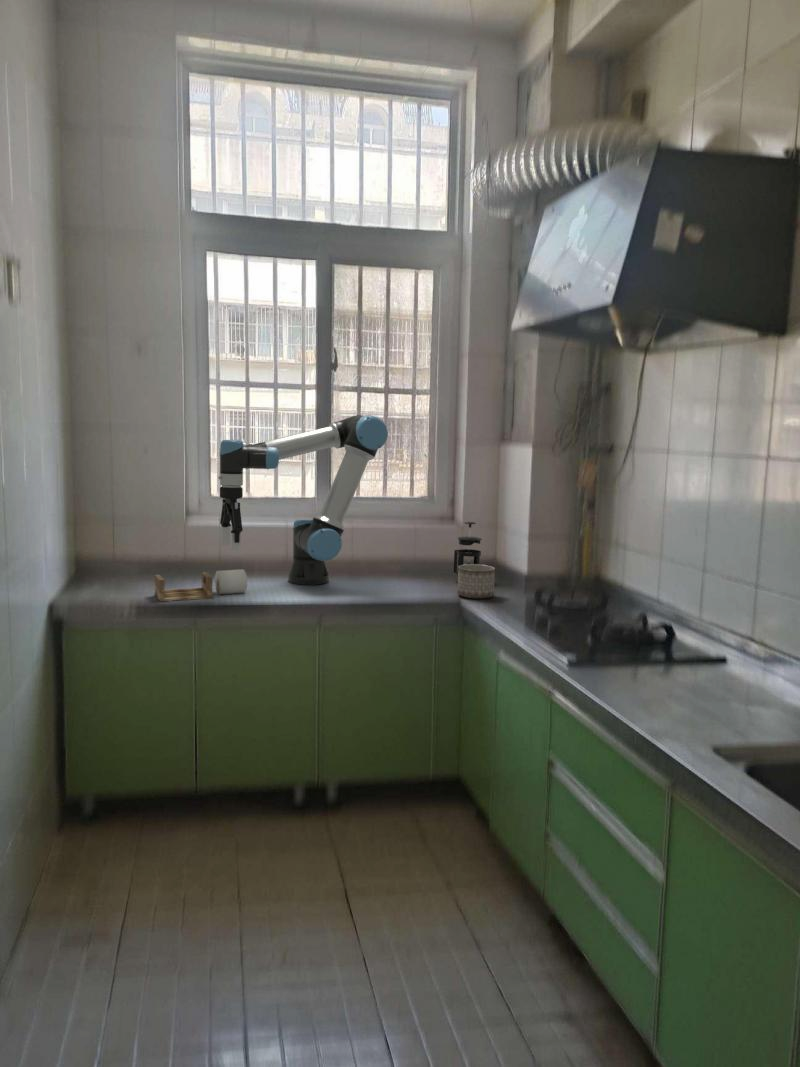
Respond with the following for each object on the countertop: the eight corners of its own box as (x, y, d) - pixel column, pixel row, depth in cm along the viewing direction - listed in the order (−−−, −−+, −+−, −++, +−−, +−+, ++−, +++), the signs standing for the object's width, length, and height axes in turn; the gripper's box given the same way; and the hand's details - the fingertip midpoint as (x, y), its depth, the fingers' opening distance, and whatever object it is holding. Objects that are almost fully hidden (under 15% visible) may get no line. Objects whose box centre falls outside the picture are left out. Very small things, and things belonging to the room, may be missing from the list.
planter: (454, 592, 292) (455, 564, 291) (488, 592, 294) (490, 564, 292) (461, 600, 280) (462, 570, 278) (497, 600, 281) (498, 570, 280)
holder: (205, 591, 282) (205, 571, 281) (213, 598, 272) (213, 577, 271) (154, 595, 275) (154, 574, 274) (160, 602, 265) (160, 580, 264)
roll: (241, 592, 286) (240, 568, 286) (247, 593, 279) (246, 569, 279) (215, 593, 282) (214, 570, 282) (220, 595, 275) (220, 571, 275)
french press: (486, 583, 311) (489, 522, 308) (471, 586, 304) (473, 524, 301) (462, 578, 319) (464, 519, 316) (446, 581, 312) (449, 521, 309)
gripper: (211, 483, 285) (211, 543, 288) (229, 489, 263) (229, 555, 266) (232, 483, 288) (232, 543, 291) (252, 489, 266) (251, 554, 269)
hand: (230, 549), depth 278 cm, fingers open, 13 cm apart
